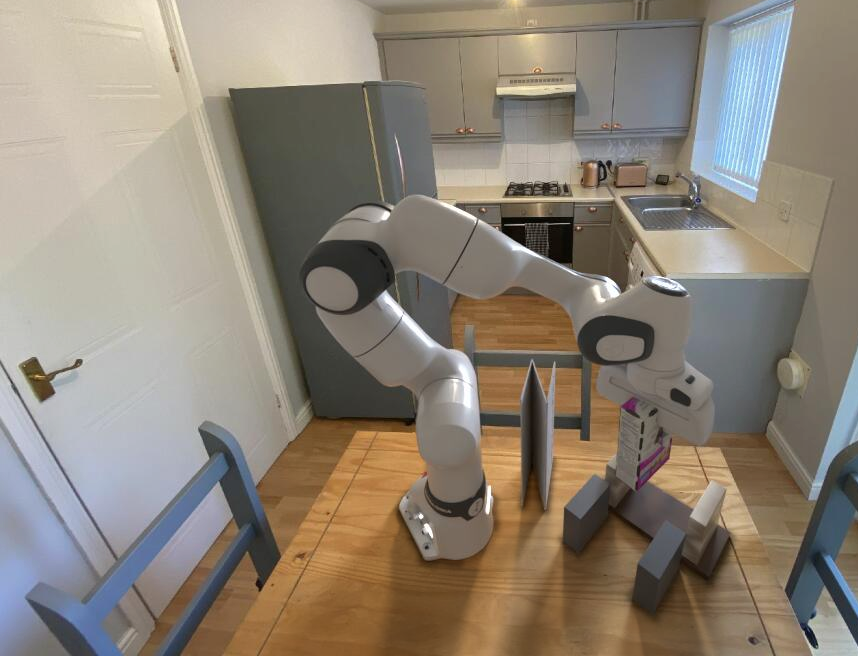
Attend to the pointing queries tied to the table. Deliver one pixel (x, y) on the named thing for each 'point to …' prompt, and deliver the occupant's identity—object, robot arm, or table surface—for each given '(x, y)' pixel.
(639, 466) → the candy bar box
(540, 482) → the brochure
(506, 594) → the table surface
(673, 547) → the dark gray block pair
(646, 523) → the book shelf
